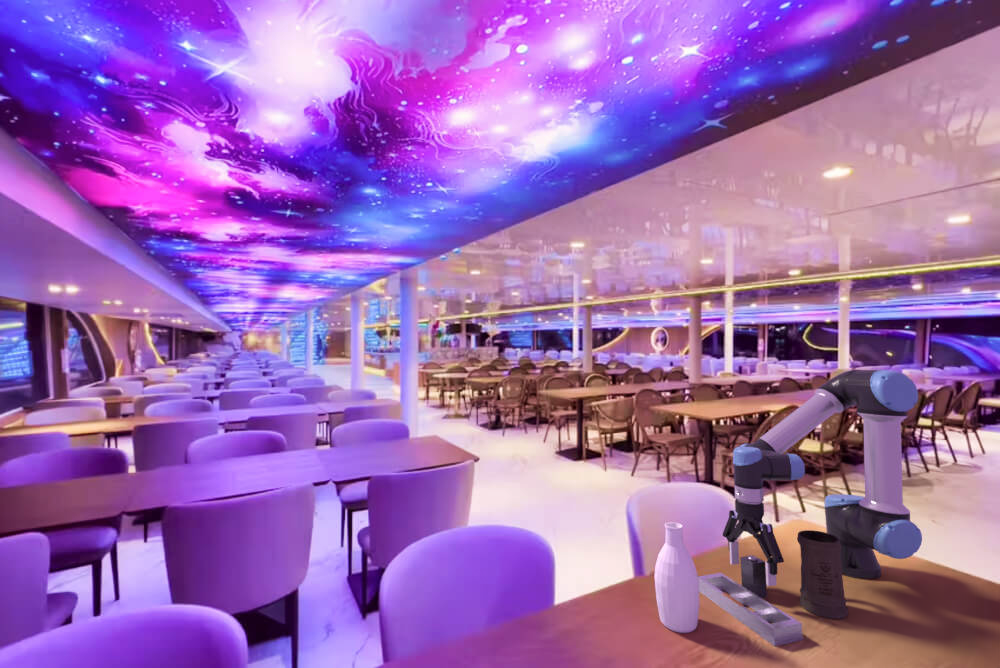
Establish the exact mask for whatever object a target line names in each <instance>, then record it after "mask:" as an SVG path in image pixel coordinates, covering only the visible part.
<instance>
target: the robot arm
mask: <svg viewBox="0 0 1000 668" xmlns="http://www.w3.org/2000/svg"><path fill="white" fill-rule="evenodd" d="M918 400H919V391H918V388H917V386H916V384H915V382H914V381H913V380H912V379H911V378H910V377H909V376H908V375H906V374H904V373H902V372H900V371H897V370H895V371H894V370H888V369H878V370H876V369H869V370H868V369H850V370H847V371H844V372H841V373H839V374H837V375H835V376H834V377H832V378H830V379H829V380H827V381H826V382H825V383H823V384H821V386H819V387H817V389H815V390H814V395H813V396H811V397H810V398H809V399H808V400H807V401H805V402H804V403H803V404H801V405H800V406H799V407H798V408H796V409H795V410H794V411H792V412H791V413H790V414H789V415H787V416H786V417H785V418H784V419H782V420H781V421H780V422H778V423H777V424H776V425H775V426H774V427H772V428H771V429H769V430H768V431H767V432H766V433H764V434H763V435H762V436H760V438H757V439H756V440H755V441H754V442H752V443H744V444H741V445H740V446H738V447H734V449H733V456H732V457H733V458H732V463H733V482H734V483H733V485H734V497H735V500H734V509H733V510H732V509H731V510H729V512H728V513H729V514H728V516H729V517H728V520H727V522H726V524H725V527H724V529H723V531H722V537H724V538H726V540H727V542H728V543H727V544H728V552H729V563H730V565H732V566H734V565H740V551H739V549H740V548H739V542H738V539H739V537H740V536H741V535H742V534H743V533H744V532H745V533H748V534H750V535H752V536H753V538H754V539H755V540H756V541H757V543H758V545H759V547H760V548H761V551H762V553H763V554H764V556H765V558H766V560H765V569H766V586H767V587H772V586H777V575H778V572H779V571H778V564H779V563H780V564H781V563H784V562H785V560H784V557H783V555H782V552H781V549H780V546H779V544H778V541H777V539H776V536H775V534H774V528H773V524H772V523H764V521H763V517H764V516H765V504H764V503H763V502H764V501H765V500H764V481H790V482H791V481H793V480H795V481H796V480H801V479H802V478H803V477H804V476H805V473H806V470H805V468H806V467H805V463H804V461H803V459H802V458H801V457H800V456H799V455H797V454H795V453H788V452H787V453H785V452H786V451H787V450H788V449H790V448H791V447H792V446H794V445H795V444H796V443H798V442H799V441H800V440H801V439H803V438H804V437H805V436H807V435H808V434H809V433H811V432H812V431H813V430H815V429H816V428H817V427H818V426H820V425H821V424H823V423H824V422H825V421H826V420H827V419H829V418H830V417H831V416H833V415H834V414H835V413H836V414H840V413H842V412H844V411H845V410H846V409H848V408H851V407H856V410H857V411H856V413H857V415H858V416H860V417H861V418H862V420H863V455H864V456H863V459H864V460H863V461H864V463H863V464H864V495H865V496H861V495H856V494H855V495H854V494H840V493H839V494H838V493H837V494H836V493H835V494H829V495H827V496H825V498H824V506H823V508H824V512H825V513H824V515H825V528H826V533H829V534H831V535H834V536H836V537H837V538H839V540H840V544H841V552H840V560H841V566H842V576H843V575H844V576H848V577H851V578H855V579H856V578H857V579H870V580H871V579H877V578H879V577H881V576H882V567H881V564H880V563H879V561H878V559H877V556H876V554H875V551H876V552H877V553H879V554H881V555H883V556H887V557H890V558H892V559H897V560H904V559H907V558H911V557H912V556H913V555H914V554H916V553H917V552H918V551H919V549H920V547H921V546H922V541H923V534H922V531H921V530H920V528H919V527H918V525H916V524H915V522H912V521H911V511H910V509H908V507H906V506H905V505H904V503H903V502H904V499H903V498H904V497H903V463H902V461H903V459H902V456H903V455H902V454H903V453H902V424H901V423H902V422H903V421H904V420H905V419H907V418H908V411H909V410H911V409H913V408H914V407H915V405H916V404H917V403H918Z"/></svg>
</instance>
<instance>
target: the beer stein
mask: <svg viewBox="0 0 1000 668" xmlns="http://www.w3.org/2000/svg"><path fill="white" fill-rule="evenodd" d="M797 543H798V544H799V548H800V562H801V564H800V578H801V579H800V583H801V584H800V589H799V592H800V596H799V604H800V606H801V607H802V608H803V609H804V610H805V611H807V612H809V613H811V614H813V615H815V616H818V617H821V618H823V619H824V618H825V619H832V620H837V619H839V620H840V619H844V618H846V617H848V615H849V612H848V608H847V606H846V605H847V599H846V597H845V589H844V580H843V574H842V566H841V560H840V552H841V544H840V540H839V538H837V537H836V536H834V535H831V534H829V533H827V532H824V531H819V530H807V529H806V530H800V531H798V533H797Z"/></svg>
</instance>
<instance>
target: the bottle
mask: <svg viewBox="0 0 1000 668" xmlns="http://www.w3.org/2000/svg"><path fill="white" fill-rule="evenodd" d="M664 527H665V543H664V544H663V546H662V548H661V550H660V551H659V553H658V555H657V559H656V561H655V566H654V567H655V568H654V586H655V597H656V604H657V611H658V614H659V620H660V622H661V623H662V625H663V626H664V627H665V628H667V629H668V630H670V631H672V632H676V633H679V634H686V633H687V634H688V633H692V632H694V631H695V630H696V629H697V626H698V622H699V613H700V612H699V611H700V610H699V609H700V592H699V581H698V576H699V575H698V573H697V572H698V571H697V568H696V565H695V562H694V560H693V557H692V556H691V554H690V552H689V551H688V549H687V546H686V545H685V543H684V534H683V528H684V526H683V525H682V524H681V523H679V522H674V521H671V522H670V521H668V522H666V523H664Z"/></svg>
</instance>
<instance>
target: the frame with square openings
mask: <svg viewBox="0 0 1000 668" xmlns="http://www.w3.org/2000/svg"><path fill="white" fill-rule="evenodd" d="M697 576H698V581H699V594H702V595H703V596H705V598H707V599H709V600H710V601H712V602H713V603H714V604H716V605H717V606H718V607H720V608H721V609H723V611H725V612H727V613H728V614H730V615H731V616H732V617H734V618H735V619H736V620H737V621H739V622H740V623H741V624H743V625H745V626H746V627H747V628H748V629H750V630H751V631H753V632H754V633H755V634H757V635H758V636H760V637H761V638H763V639H764V640H765V641H767V642H768V643H770V644H771V645H772V646H774V647H778V646H782V645H786V644H790V643H796V642H801V641H803V623H802V622H800V621H799V620H797V619H796V618H794V617H793V616H791V615H790V614H788V613H786V612H785V611H783V610H781V609H779V608H778V607H776V606H775V605H773V604H771V603H770V602H769V601H766V599H764V598H761V597H759V596H757V595H756V594H754V593H753V592H751V591H749V590H748V589H746V588H744V587H743V586H742V584H739V583H738V582H737V581H735V580H733V579H732V578H730V577H728V576H727V575H726V574H723V573H722V572H717V573H711V574H705V575H701V576H700V575H697ZM745 605H746V606H745ZM748 607H749V608H750V609H749V608H748ZM751 609H752V610H753V611H752V610H751ZM770 622H771V623H770Z"/></svg>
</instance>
